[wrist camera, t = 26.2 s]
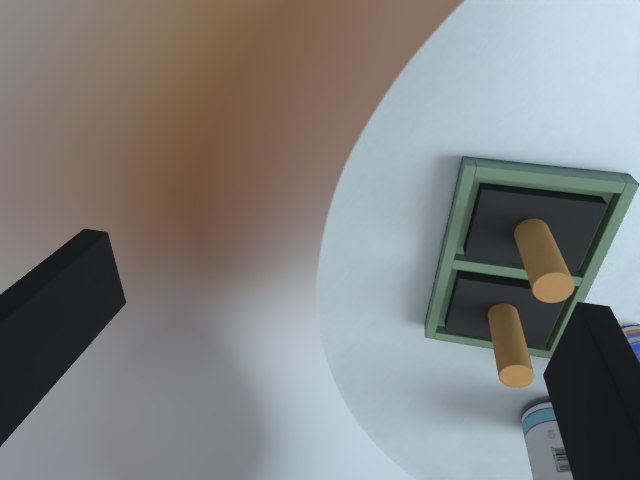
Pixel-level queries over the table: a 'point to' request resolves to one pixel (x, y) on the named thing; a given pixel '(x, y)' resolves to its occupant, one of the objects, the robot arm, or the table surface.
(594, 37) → the table surface
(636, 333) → the pill bottle
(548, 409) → the beverage can
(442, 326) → the pad holder
